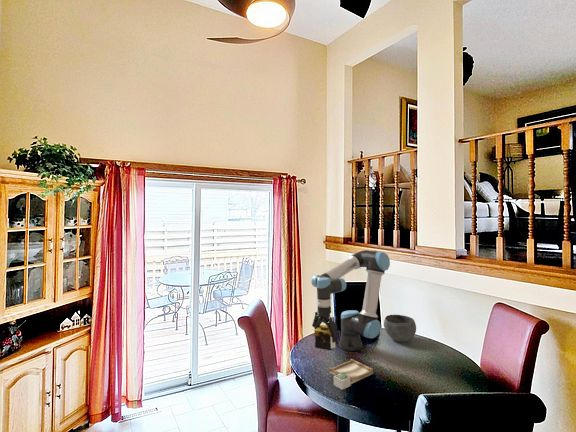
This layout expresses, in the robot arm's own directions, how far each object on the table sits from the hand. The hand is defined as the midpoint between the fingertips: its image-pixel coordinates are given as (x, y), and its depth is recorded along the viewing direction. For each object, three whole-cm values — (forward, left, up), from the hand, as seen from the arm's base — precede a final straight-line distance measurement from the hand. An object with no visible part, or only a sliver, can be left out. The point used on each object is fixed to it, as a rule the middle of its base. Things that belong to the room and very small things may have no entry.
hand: (325, 343), depth 179 cm
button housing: (+16, -4, -15) cm, 23 cm away
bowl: (-1, +69, -15) cm, 71 cm away
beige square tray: (+10, +9, -15) cm, 21 cm away
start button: (+16, -4, -14) cm, 22 cm away
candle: (0, +1, -2) cm, 2 cm away
